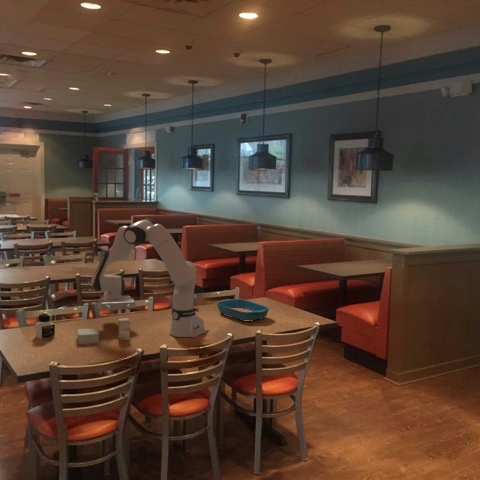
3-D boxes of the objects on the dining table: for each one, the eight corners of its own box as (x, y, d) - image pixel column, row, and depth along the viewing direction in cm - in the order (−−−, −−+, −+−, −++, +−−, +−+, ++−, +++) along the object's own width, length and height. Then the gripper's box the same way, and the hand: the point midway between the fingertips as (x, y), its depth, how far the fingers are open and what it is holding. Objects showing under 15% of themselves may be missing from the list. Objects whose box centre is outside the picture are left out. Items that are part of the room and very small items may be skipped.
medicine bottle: (41, 339, 272) (41, 316, 271) (35, 336, 277) (35, 314, 275) (55, 337, 277) (54, 314, 276) (48, 333, 282) (48, 311, 281)
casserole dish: (210, 311, 340) (210, 300, 339) (237, 307, 354) (237, 296, 353) (247, 325, 312) (248, 313, 311) (275, 320, 326) (276, 308, 325)
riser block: (77, 338, 277) (77, 329, 277) (97, 337, 280) (97, 328, 280) (78, 344, 268) (78, 335, 267) (98, 343, 271) (98, 333, 270)
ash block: (118, 337, 281) (118, 318, 279) (127, 336, 283) (127, 318, 281) (119, 340, 276) (120, 321, 275) (129, 339, 278) (129, 320, 277)
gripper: (95, 297, 297) (99, 303, 284) (132, 295, 305) (137, 301, 292) (95, 308, 298) (99, 314, 285) (132, 306, 306) (137, 312, 293)
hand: (119, 308), depth 289 cm, fingers open, 8 cm apart
